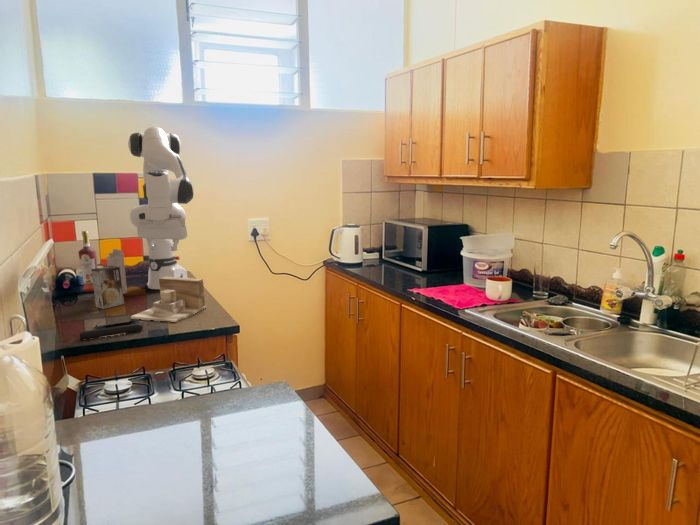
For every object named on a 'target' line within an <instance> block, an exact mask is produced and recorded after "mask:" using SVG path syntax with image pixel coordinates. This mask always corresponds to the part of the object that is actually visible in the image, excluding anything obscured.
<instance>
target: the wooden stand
mask: <svg viewBox="0 0 700 525" xmlns="http://www.w3.org/2000/svg"><path fill="white" fill-rule="evenodd" d="M159 284H160V289H159V292H162V291H165V290H175V291H176V302H173V303H171V304H169V303H161V299H160V300H157V301H155V302H153V303H152V307H150V308H148V309H146V310H142V311H140V312H138V313H135V314H133V315H130V319H131V320H139V319H141V320H142V321H150V320H154V321H153V322H160V321H171V322H176V321H179V320H181V319H183V318H185V319H187V318H189V317H192V316H194V315H196V314H198V313H200V312H202V311H204V310H206V309H207V306H206V303H205V291H204V290H205V289H204V278H190V277H187V278H178V277H163V278H160V279H159ZM160 297H161V295H160ZM205 308H206V309H205ZM203 309H204V310H203ZM201 310H202V311H201ZM199 311H200V312H199ZM197 312H198V313H197ZM195 313H196V314H195ZM193 314H194V315H193ZM191 315H192V316H191ZM188 316H189V317H188ZM186 317H187V318H186ZM183 320H184V319H183ZM181 321H182V320H181ZM179 322H180V321H179Z"/></svg>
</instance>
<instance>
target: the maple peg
mask: <svg viewBox="0 0 700 525" xmlns="http://www.w3.org/2000/svg"><path fill="white" fill-rule="evenodd" d="M159 292H160V291H159ZM159 294H160V295H161V296H160V300H161V303H169V304H171V303H173V302H176V291H175V290H165V291H162V292H160V293H159Z"/></svg>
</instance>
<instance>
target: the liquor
mask: <svg viewBox="0 0 700 525" xmlns="http://www.w3.org/2000/svg"><path fill="white" fill-rule="evenodd" d="M81 235H82V246H83V248H81V249H80V250H78V257H79V264H80V265H79V266H80V268H81V269H80V270H81V275H82V281H83V282H82V283H83V289H82V290H83V291H85V292H86V293H94V292H93V291H94V287H93V279H92V271H91V269H96V268H98V260H97V258H98V257H97V250H96V249H95V248H92V247H91V244H90V239H89V236H90V234H89V230H82V231H81Z"/></svg>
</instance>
